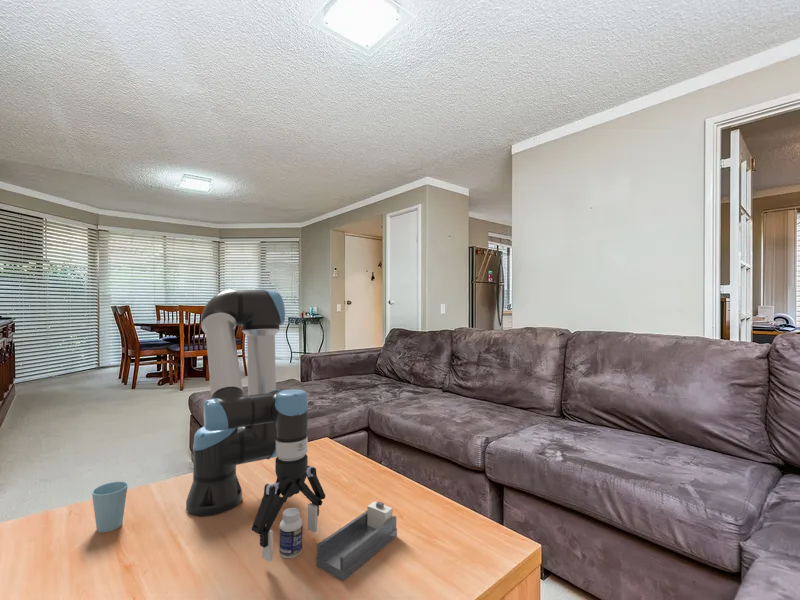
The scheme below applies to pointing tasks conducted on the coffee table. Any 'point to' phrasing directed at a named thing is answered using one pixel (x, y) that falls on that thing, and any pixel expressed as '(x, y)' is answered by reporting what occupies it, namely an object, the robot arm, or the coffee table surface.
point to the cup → (109, 505)
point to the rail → (353, 546)
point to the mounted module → (378, 514)
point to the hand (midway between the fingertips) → (291, 544)
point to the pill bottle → (291, 533)
